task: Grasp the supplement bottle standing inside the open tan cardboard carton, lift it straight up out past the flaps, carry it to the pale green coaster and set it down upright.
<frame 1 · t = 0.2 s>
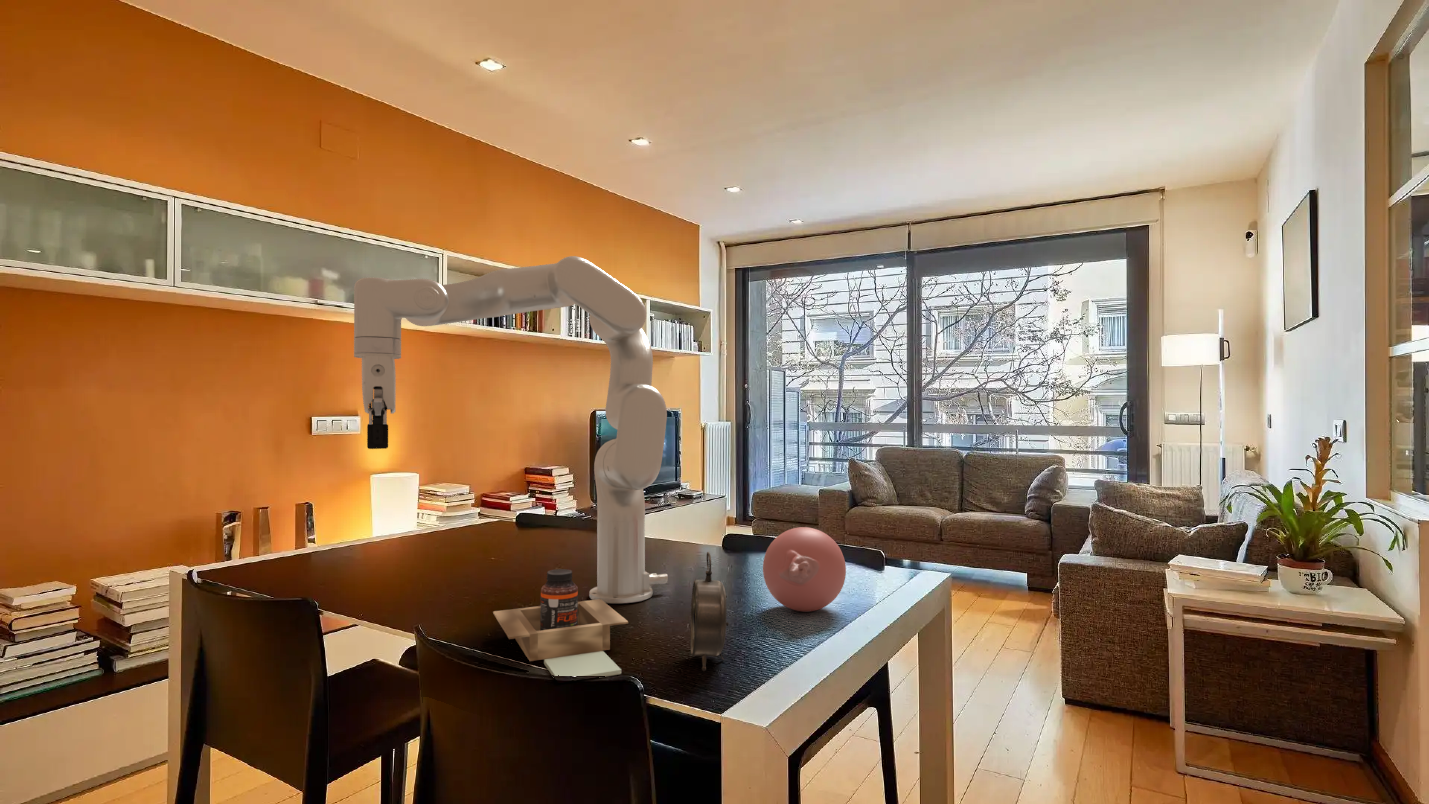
hand: (377, 447, 128), 31 cm above the table, tool pointing down, fingers open, 9 cm apart
coaster: (581, 668, 106), on the table
alarm clock: (709, 662, 109), on the table
carton: (559, 641, 119), on the table
supplement bottle: (559, 642, 119), resting in carton
salmon rubber sphere: (801, 614, 135), on the table
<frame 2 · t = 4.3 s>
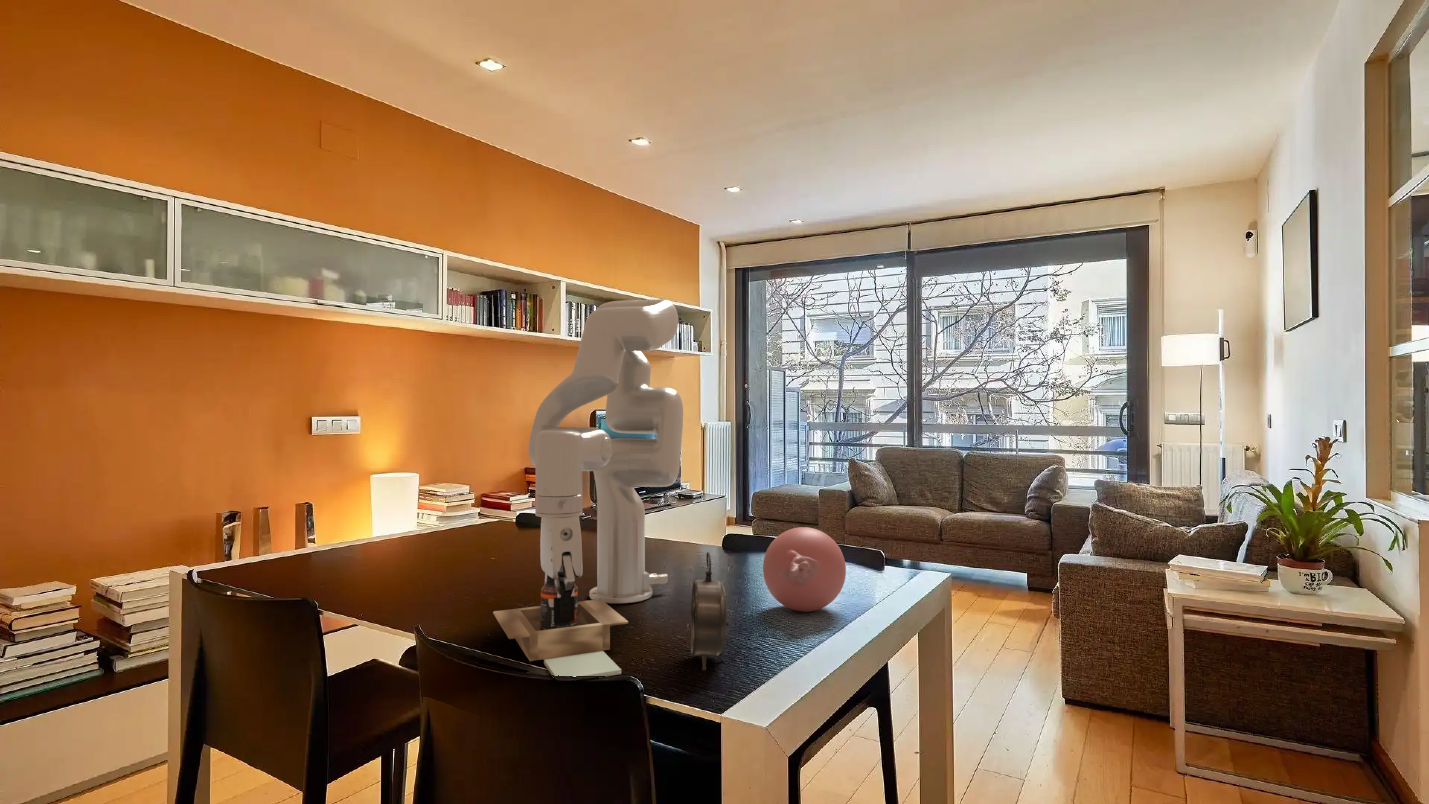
hand: (559, 615, 119), 4 cm above the table, tool pointing down, fingers closed on supplement bottle, 6 cm apart
supplement bottle: (559, 642, 119), resting in carton, touching gripper
everything else where it was.
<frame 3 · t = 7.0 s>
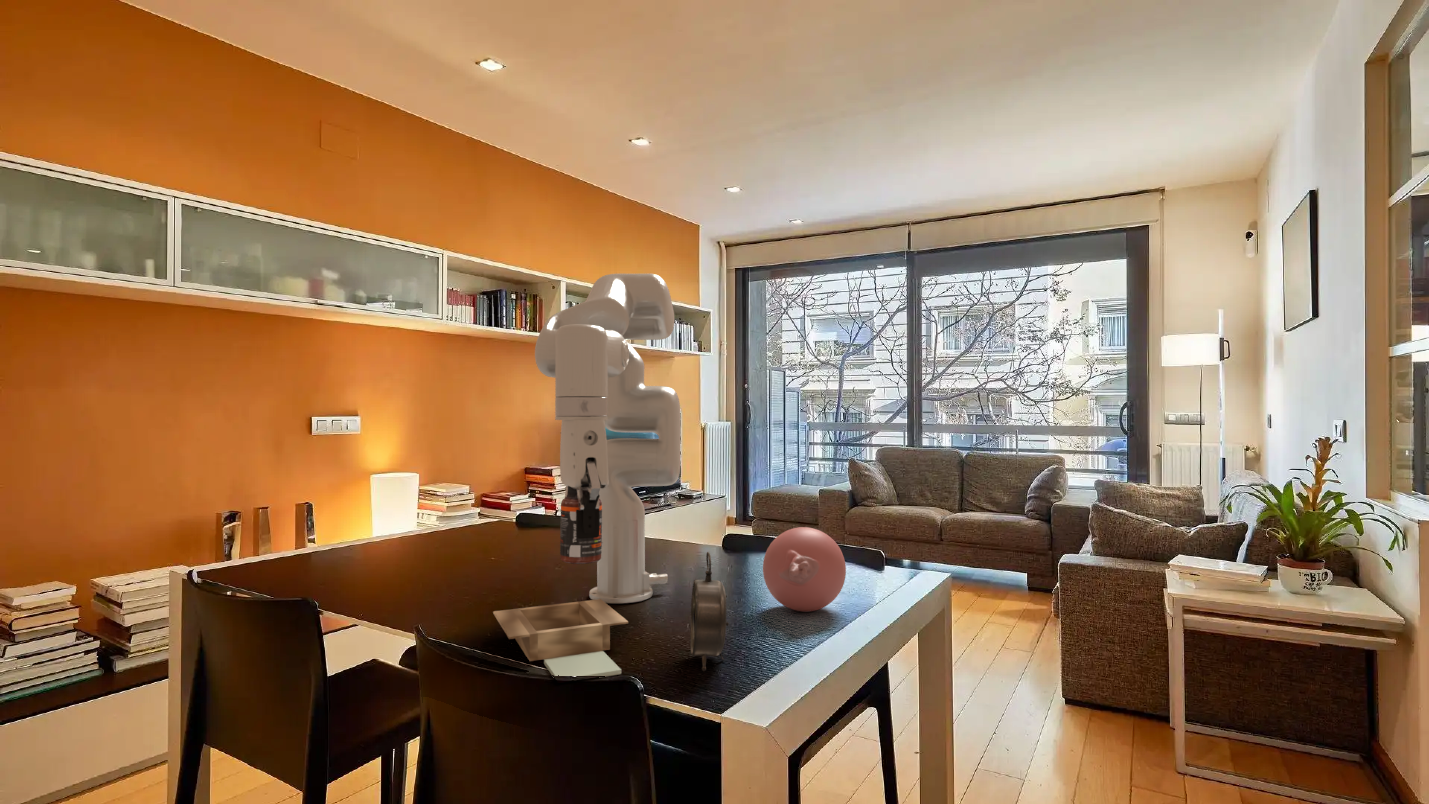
hand: (581, 532, 107), 20 cm above the table, tool pointing down, fingers closed on supplement bottle, 6 cm apart
supplement bottle: (581, 562, 107), point 15 cm above the table, touching gripper
everything else where it was.
when the fingers open (6 cm above the table, at t = 10.0 s): supplement bottle drops 1 cm, resting on coaster.
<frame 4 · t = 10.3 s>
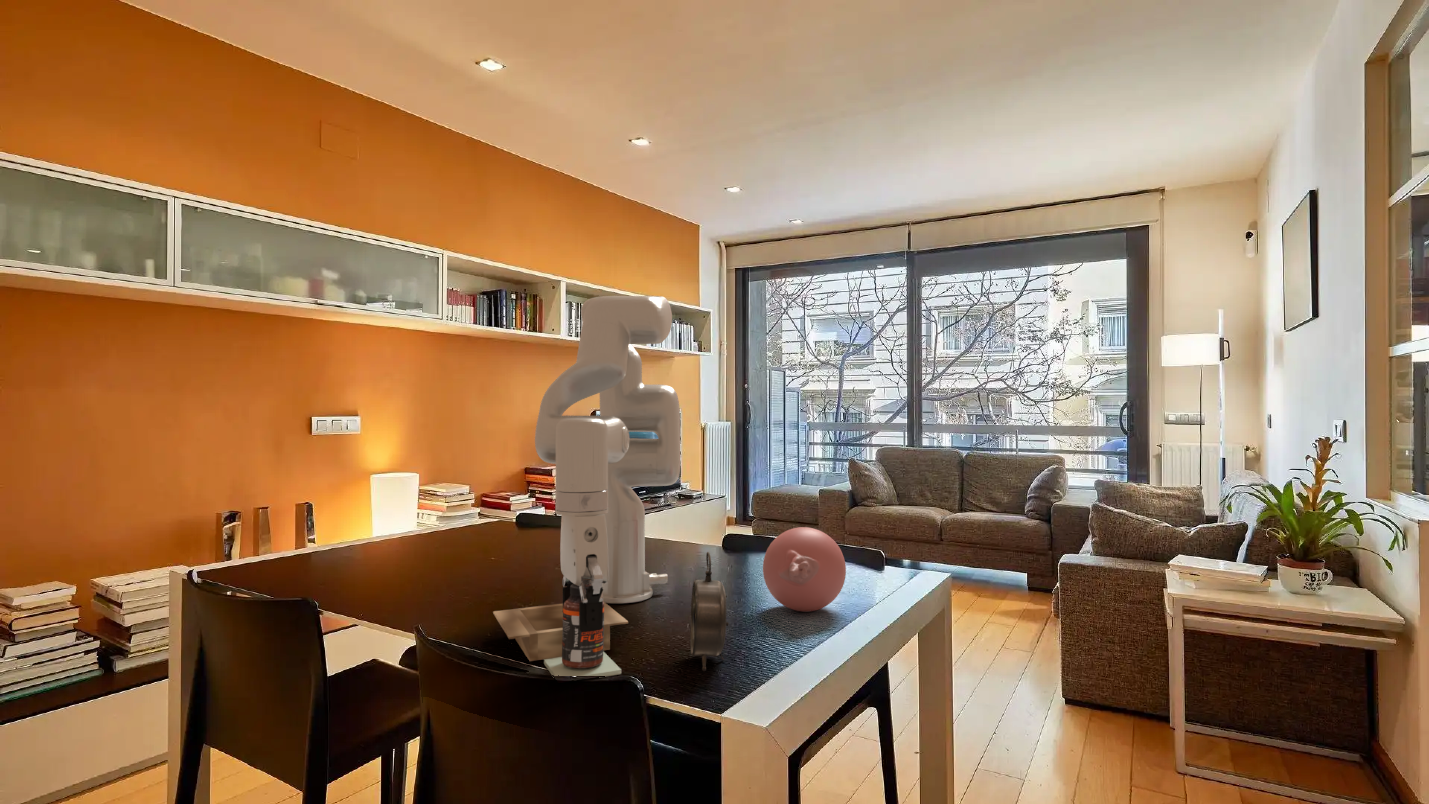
hand: (581, 621, 106), 7 cm above the table, tool pointing down, fingers open, 9 cm apart
supplement bottle: (582, 665, 106), resting on coaster
everything else where it was.
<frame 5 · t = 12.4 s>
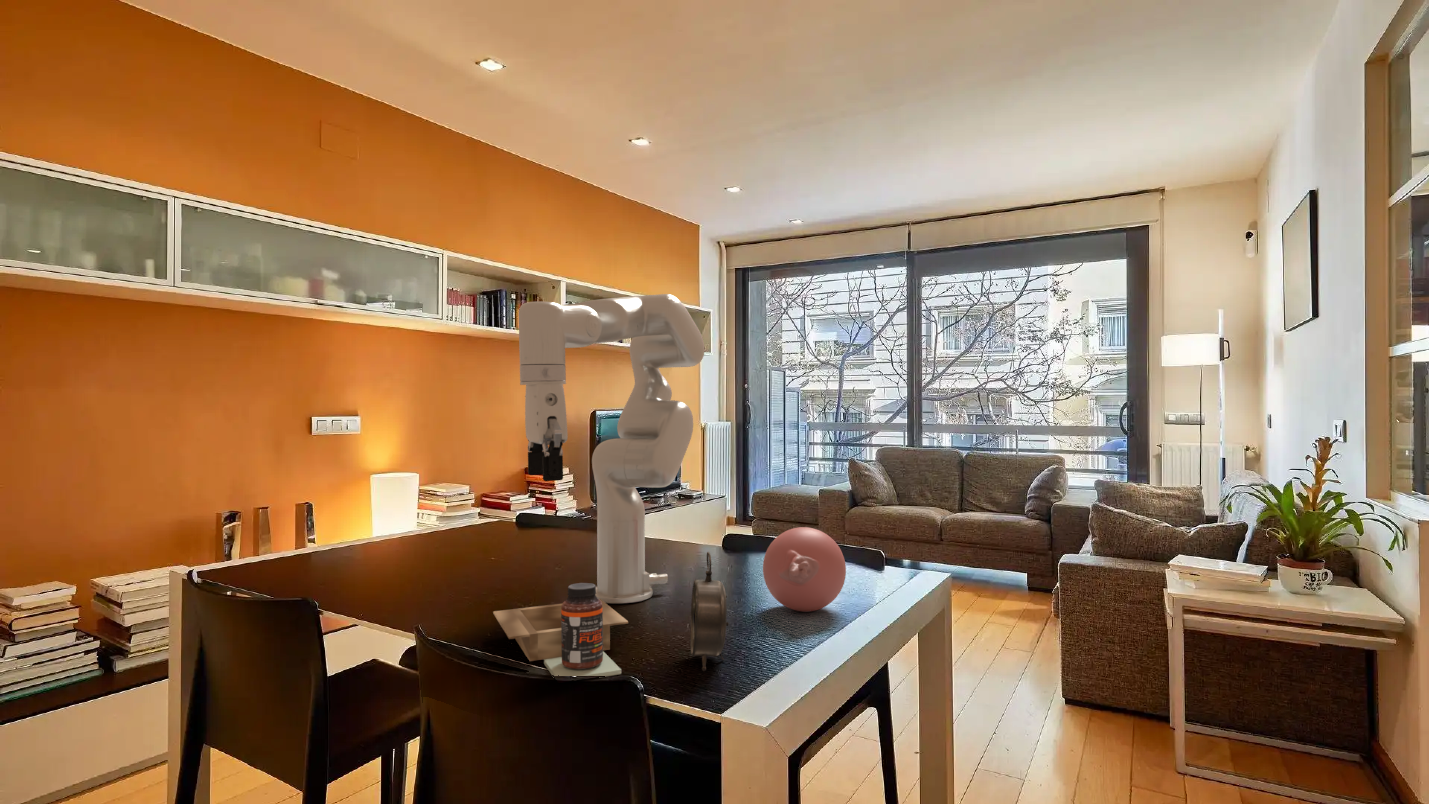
hand: (545, 477, 124), 26 cm above the table, tool pointing down, fingers open, 9 cm apart
nothing on the table moved.
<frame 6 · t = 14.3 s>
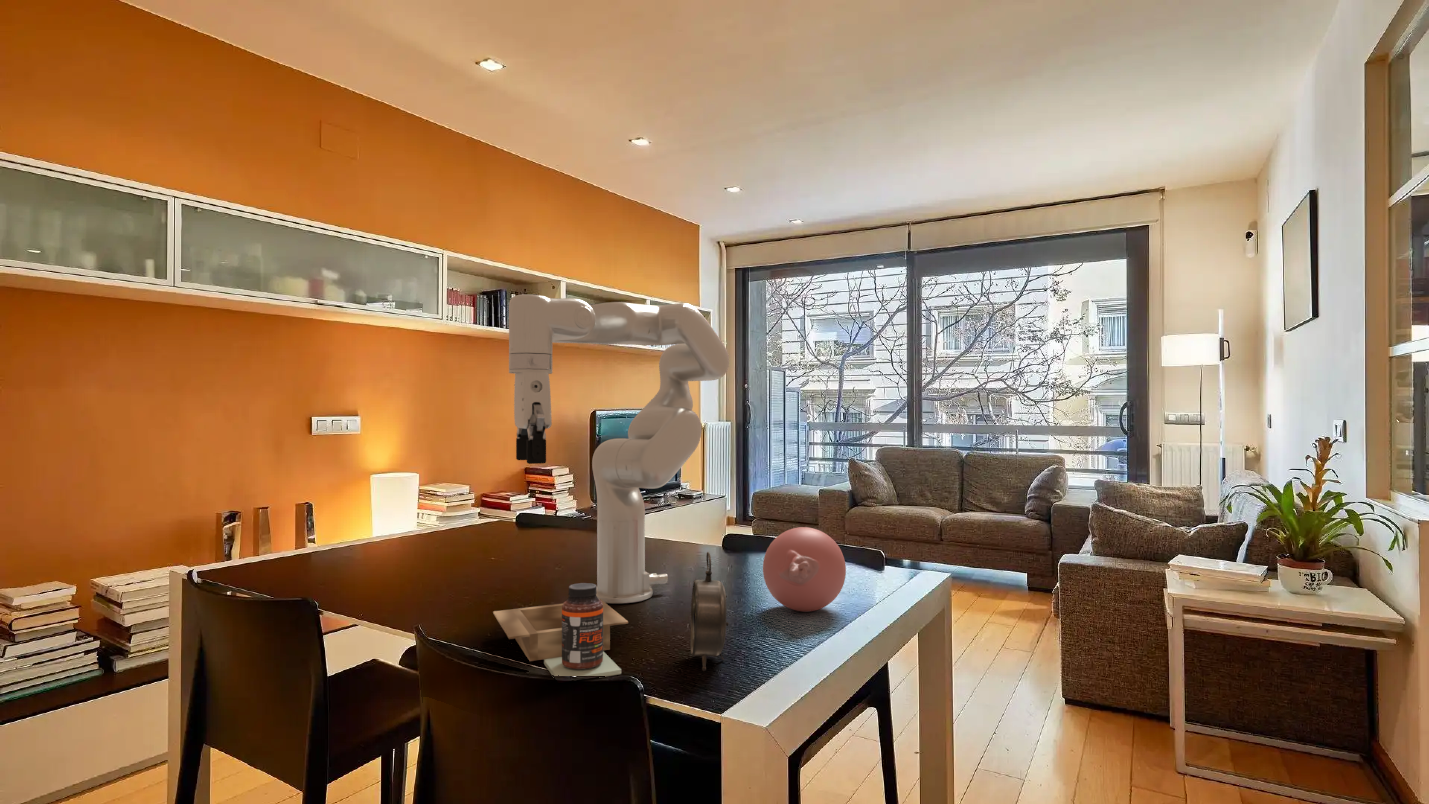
hand: (530, 461, 130), 28 cm above the table, tool pointing down, fingers open, 9 cm apart
nothing on the table moved.
at the end: supplement bottle inside the target area on the coaster (0.1 cm from its centre), point 0.4 cm above the coaster's base; supplement bottle tilted 1°; the gripper is holding nothing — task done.
